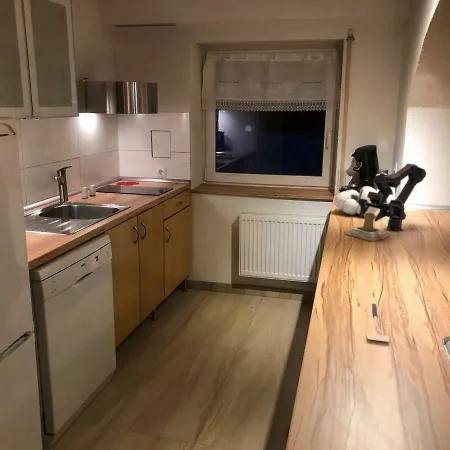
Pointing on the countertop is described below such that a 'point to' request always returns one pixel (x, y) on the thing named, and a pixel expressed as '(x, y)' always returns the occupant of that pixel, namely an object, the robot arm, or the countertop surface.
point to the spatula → (375, 336)
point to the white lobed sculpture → (354, 200)
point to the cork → (368, 222)
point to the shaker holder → (367, 234)
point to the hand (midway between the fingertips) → (367, 219)
